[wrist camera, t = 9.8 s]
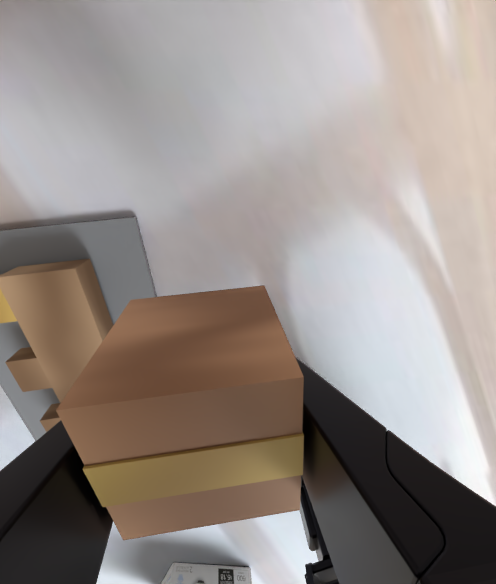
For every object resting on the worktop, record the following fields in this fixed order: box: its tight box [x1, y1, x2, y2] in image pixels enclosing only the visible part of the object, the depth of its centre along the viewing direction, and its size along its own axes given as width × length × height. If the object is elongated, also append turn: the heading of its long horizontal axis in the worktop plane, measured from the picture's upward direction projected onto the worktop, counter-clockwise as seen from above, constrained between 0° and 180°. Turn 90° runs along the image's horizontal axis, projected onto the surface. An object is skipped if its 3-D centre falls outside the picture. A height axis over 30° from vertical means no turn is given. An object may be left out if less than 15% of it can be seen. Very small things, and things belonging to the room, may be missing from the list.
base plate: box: [0, 217, 157, 441], centre depth 20 cm, size 12×25×1 cm, turn 5°
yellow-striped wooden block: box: [56, 286, 304, 540], centre depth 7 cm, size 4×4×4 cm
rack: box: [0, 259, 113, 432], centre depth 15 cm, size 6×14×6 cm, turn 5°
